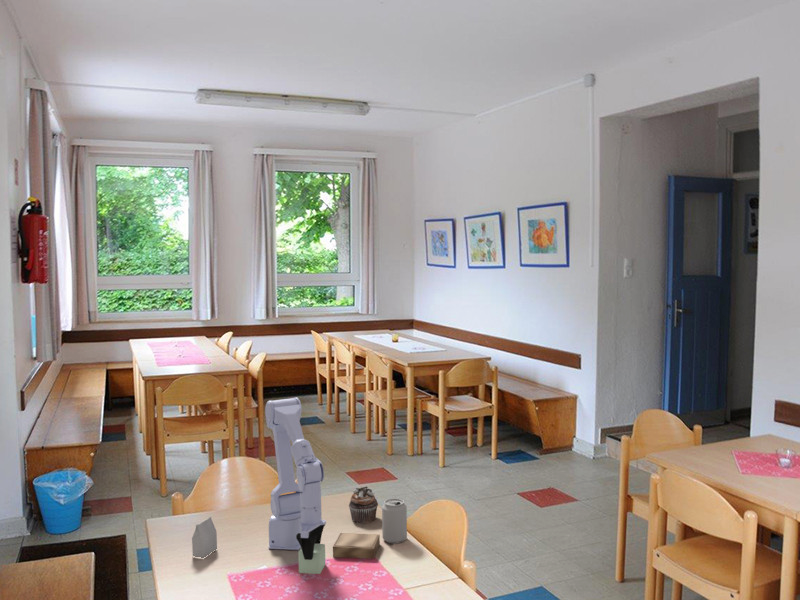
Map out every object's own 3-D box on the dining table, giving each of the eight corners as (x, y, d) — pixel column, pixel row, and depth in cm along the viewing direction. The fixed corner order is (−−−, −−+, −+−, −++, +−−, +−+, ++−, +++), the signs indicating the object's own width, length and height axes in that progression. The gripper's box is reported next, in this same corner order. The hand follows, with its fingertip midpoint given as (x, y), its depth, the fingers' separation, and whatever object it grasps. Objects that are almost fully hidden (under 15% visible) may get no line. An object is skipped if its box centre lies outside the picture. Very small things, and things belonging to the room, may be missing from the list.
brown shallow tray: (332, 556, 204) (332, 546, 204) (340, 542, 214) (340, 532, 214) (373, 558, 202) (373, 548, 202) (379, 544, 212) (379, 534, 212)
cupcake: (343, 517, 234) (342, 488, 233) (367, 511, 240) (367, 482, 239) (359, 526, 226) (358, 496, 226) (384, 519, 232) (383, 489, 231)
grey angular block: (217, 550, 210) (216, 517, 209) (203, 559, 204) (202, 525, 203) (206, 548, 211) (205, 516, 211) (192, 557, 205) (191, 524, 204)
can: (404, 545, 211) (403, 506, 210) (380, 543, 213) (379, 504, 212) (409, 535, 219) (408, 497, 218) (385, 534, 220) (384, 496, 219)
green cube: (298, 573, 194) (298, 552, 194) (304, 563, 200) (304, 543, 200) (320, 574, 193) (319, 553, 193) (325, 564, 199) (324, 544, 199)
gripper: (318, 515, 188) (319, 565, 189) (331, 496, 202) (332, 543, 203) (292, 514, 189) (293, 564, 190) (307, 496, 203) (308, 542, 204)
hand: (312, 553), depth 196 cm, fingers open, 7 cm apart
